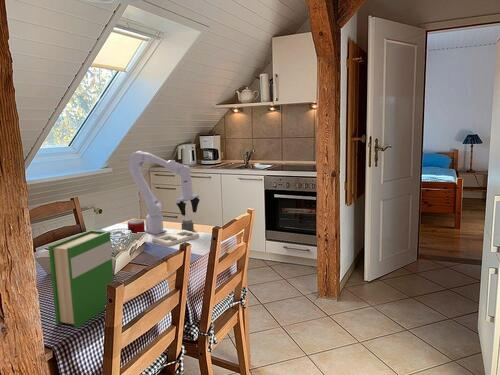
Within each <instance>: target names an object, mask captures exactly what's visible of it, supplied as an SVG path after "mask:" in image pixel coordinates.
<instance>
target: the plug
mask: <svg viewBox="0 0 500 375" xmlns="http://www.w3.org/2000/svg"><path fill="white" fill-rule="evenodd" d="M194 226H195V225H194V223H193V219H190V218H185V219H182V222H181V230H187V231H191V232H194V230H195V228H194Z"/></svg>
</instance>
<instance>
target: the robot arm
mask: <svg viewBox="0 0 500 375" xmlns="http://www.w3.org/2000/svg"><path fill="white" fill-rule="evenodd" d="M128 161H129V163H128V164H129V165H128V167H129V169H128V171H129V172H128V173H129V174H130V175H131V177H132V179H133V181H134V183H135V184H136V187H137V188H138V190H139V192H140V194H141V196H142V197H143V199H144V201H145V207H146V208H147V215H146V216H145V219H144V225H145V233H149V234H153V235H157V234H158V235H159V234H161V233H163V232H164V233H165V232H168V230H167V229H164V220H163V218H164V217H163V212H162V210H163V207H164V206H163V204H162V202H160V201H159V200H158V199H157V198H156V197H155V195H154V193H153V192H152V190H151V188H150V187H149V184H148V183H147V181H146V179H145V177H144V175H143V173H142V171H141V169H142V166H143V164H144V163H149V162H150V163H154V164H155V165H156V164H157V165H159V166H162V167H164V168H165V170H166V171H168V172H170V173H174V174H176V175H179V176H180V186H181V187H180V189H181V197H179V198H176V199H175V203H176V206H177V207H178V209H179V210H180V211H179V212H180V214H181V216H184V217H185V216H186V205H187V203H186V202H190V204H191V209H192V213H196V214H197V210H198V205H199V202H200V194H199V193H197V194H194V192H193V191H194V190H193V180H192V176H191V174H192V168H191V167H190V166H188V165H187V164H185V165H184V163H179V162H176V160H175V159H169V160H165V159H163V158H161V157H159V156H157V155H154V154H152V153H150V152H146V151H143V150H138V151H134V152H132V153H131V154H130V157H129V159H128Z"/></svg>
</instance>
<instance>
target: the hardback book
mask: <svg viewBox="0 0 500 375" xmlns="http://www.w3.org/2000/svg"><path fill="white" fill-rule="evenodd" d="M48 254H49V256H48V257H49V264H50V274H51V285H52V296H53V303H54V304H53V305H54V316H55V323H56V326H59V325H62V324H63V323H64V324H71V325H73V328H74V329H78V328H80V327H81V326H83V325H85V323H86V321H87V322H89V321H90V320H91V319H93V318H94V317H96V316H97V315H99V314H100V313H101V312H103V311H104V310H106V309H105V305H106V287H107V285H108V284H110V283H113V282H114V272H113V271H114V270H113V269H114V268H113V258H112V257H113V256H112V243H111V231H105V230H98V229H97V230H95V229H90V230H87V231H84V232H82V233H80V234H76V235H74V236H71V237H69V238H66V239H64V240H61V241H58V242H56V243H53V244H50V245H48ZM95 315H96V316H95ZM93 316H94V317H93ZM92 317H93V318H92ZM89 319H90V320H89Z"/></svg>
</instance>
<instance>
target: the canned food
mask: <svg viewBox="0 0 500 375" xmlns="http://www.w3.org/2000/svg"><path fill="white" fill-rule="evenodd" d="M128 230H131V231H132V233H137V232H145V230H146V225H145V219H141V218H136V219H130V220H127V231H128ZM145 233H146V232H145Z"/></svg>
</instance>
